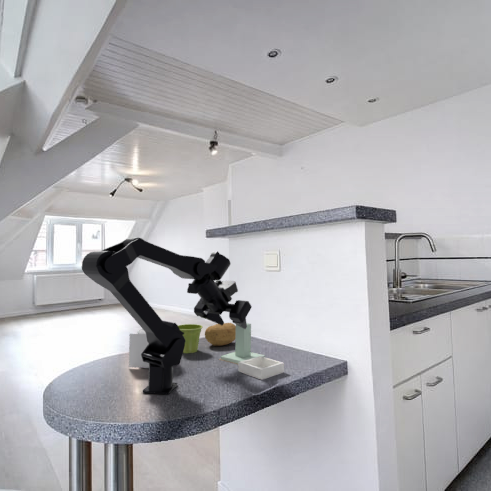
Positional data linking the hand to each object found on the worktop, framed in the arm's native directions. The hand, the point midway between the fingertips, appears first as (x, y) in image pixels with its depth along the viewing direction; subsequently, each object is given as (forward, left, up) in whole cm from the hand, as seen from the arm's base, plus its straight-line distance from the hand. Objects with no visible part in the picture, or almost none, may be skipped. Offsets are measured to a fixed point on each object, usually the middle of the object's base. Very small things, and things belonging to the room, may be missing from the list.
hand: (234, 325), depth 102 cm
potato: (+21, +9, -12) cm, 26 cm away
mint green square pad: (+4, -2, -11) cm, 12 cm away
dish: (-8, -9, -11) cm, 16 cm away
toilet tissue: (-5, +24, -12) cm, 27 cm away
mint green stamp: (+4, -2, -11) cm, 12 cm away
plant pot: (+10, +18, -12) cm, 24 cm away
